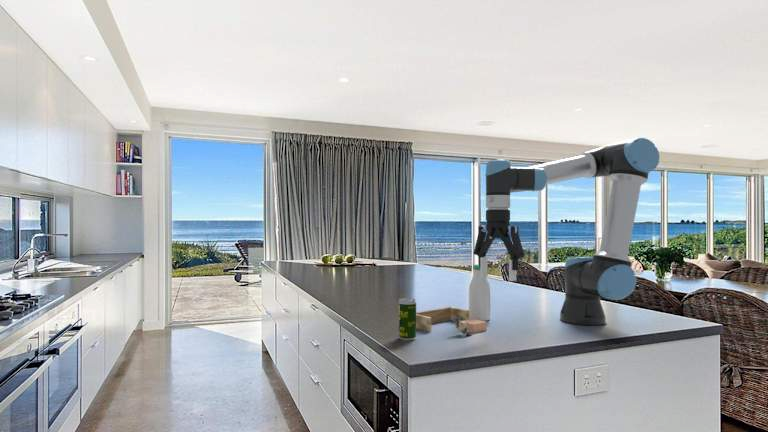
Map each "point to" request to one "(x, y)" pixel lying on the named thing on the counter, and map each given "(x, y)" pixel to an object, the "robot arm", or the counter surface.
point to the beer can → (407, 319)
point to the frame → (439, 316)
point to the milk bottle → (479, 296)
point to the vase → (461, 326)
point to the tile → (476, 325)
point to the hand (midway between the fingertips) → (497, 278)
